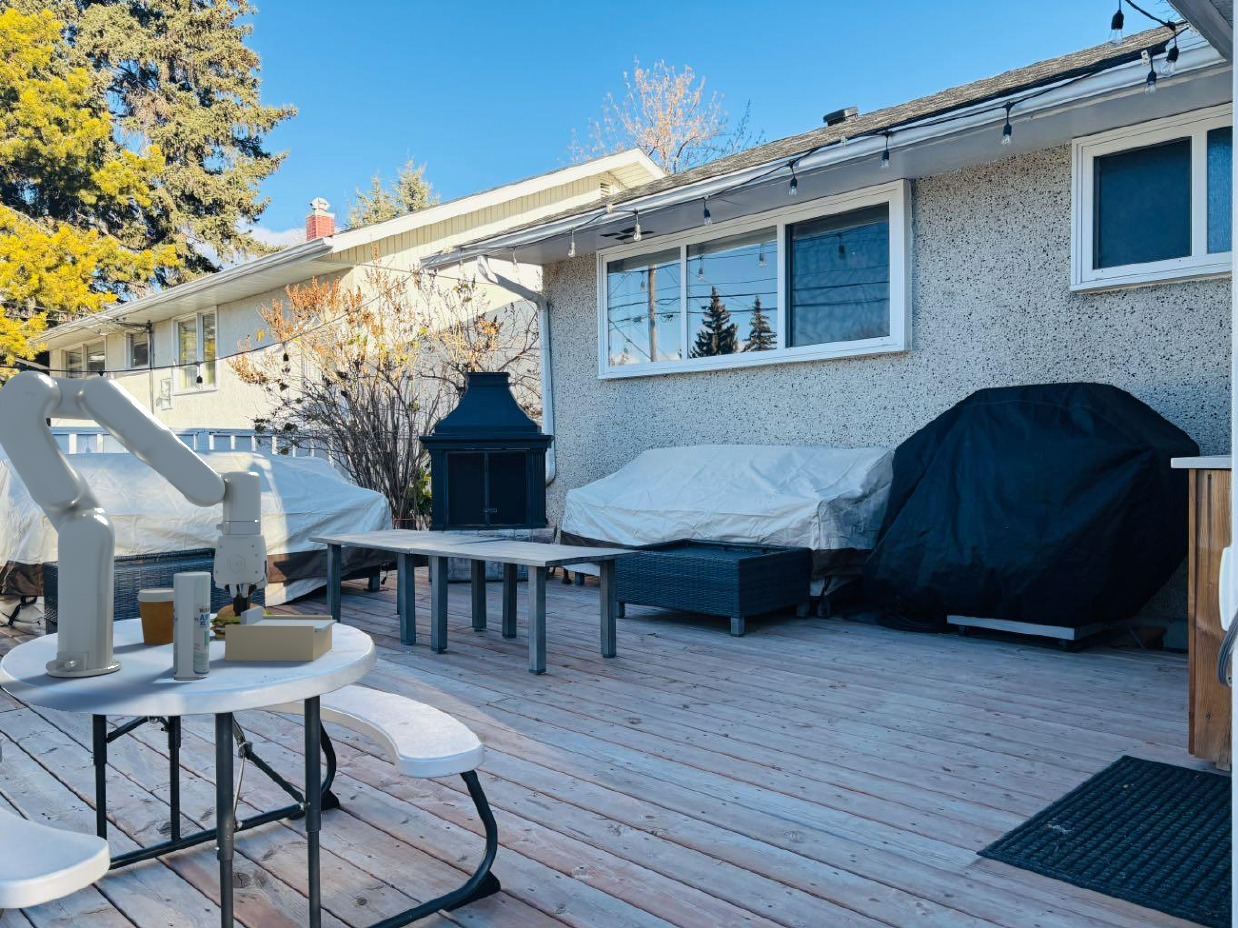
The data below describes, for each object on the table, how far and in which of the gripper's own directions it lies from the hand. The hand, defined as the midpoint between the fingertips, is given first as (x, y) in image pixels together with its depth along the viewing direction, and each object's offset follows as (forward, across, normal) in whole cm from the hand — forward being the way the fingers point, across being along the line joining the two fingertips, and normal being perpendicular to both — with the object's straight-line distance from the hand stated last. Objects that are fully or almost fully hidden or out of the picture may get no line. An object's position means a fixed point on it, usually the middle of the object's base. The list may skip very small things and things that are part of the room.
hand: (241, 615), depth 194 cm
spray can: (+9, -2, -19) cm, 21 cm away
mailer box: (+9, +8, 0) cm, 12 cm away
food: (+9, -9, +24) cm, 28 cm away
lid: (+2, +10, 0) cm, 10 cm away
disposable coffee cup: (+9, -25, +16) cm, 31 cm away
